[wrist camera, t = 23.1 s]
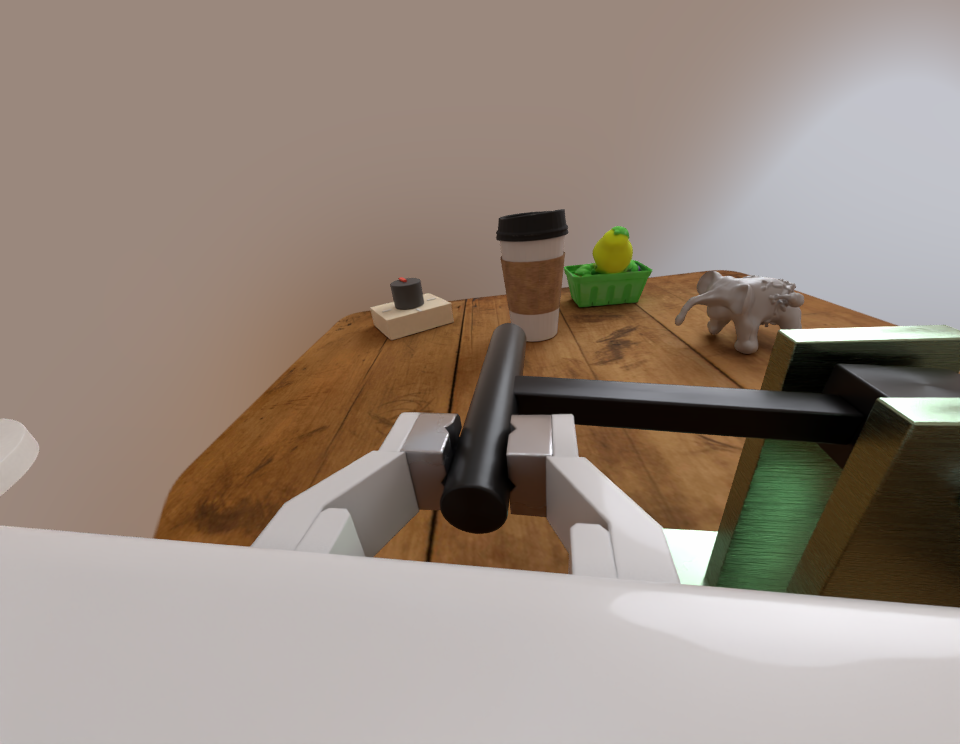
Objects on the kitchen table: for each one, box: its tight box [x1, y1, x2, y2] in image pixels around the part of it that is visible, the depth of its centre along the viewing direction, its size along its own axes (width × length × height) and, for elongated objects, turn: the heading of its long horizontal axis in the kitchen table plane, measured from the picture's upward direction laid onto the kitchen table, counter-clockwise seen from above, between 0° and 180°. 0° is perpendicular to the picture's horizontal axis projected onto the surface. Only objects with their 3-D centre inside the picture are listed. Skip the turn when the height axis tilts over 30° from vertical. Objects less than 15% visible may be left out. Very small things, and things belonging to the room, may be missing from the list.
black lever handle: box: [440, 323, 960, 534], centre depth 11 cm, size 13×9×2 cm
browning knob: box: [390, 277, 424, 310], centre depth 55 cm, size 4×4×4 cm
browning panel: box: [370, 293, 454, 340], centre depth 56 cm, size 10×9×3 cm
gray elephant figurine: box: [675, 271, 804, 354], centre depth 39 cm, size 9×12×8 cm
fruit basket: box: [564, 226, 652, 307], centre depth 55 cm, size 11×9×11 cm
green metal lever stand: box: [663, 325, 960, 608], centre depth 12 cm, size 12×10×14 cm
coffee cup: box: [496, 209, 568, 341], centre depth 46 cm, size 8×8×15 cm
